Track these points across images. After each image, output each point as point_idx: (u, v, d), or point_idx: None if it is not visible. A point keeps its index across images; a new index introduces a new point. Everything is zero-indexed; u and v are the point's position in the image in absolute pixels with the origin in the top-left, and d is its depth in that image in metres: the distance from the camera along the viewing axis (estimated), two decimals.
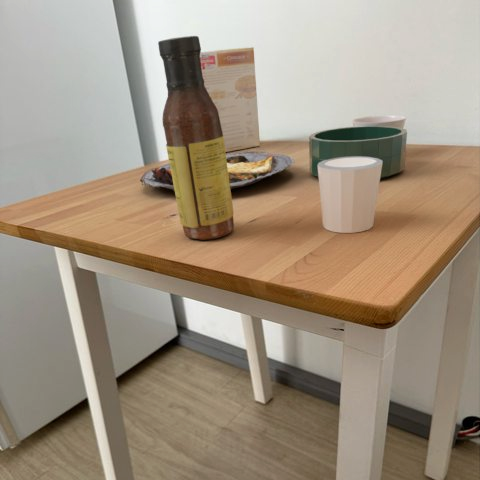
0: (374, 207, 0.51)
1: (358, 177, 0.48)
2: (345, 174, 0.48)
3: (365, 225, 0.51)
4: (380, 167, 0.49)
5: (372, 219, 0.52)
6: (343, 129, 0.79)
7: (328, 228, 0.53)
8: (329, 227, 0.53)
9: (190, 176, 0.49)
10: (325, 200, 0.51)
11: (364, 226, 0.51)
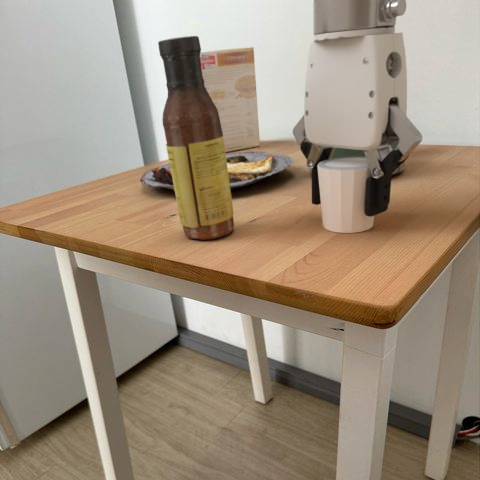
0: None
1: (358, 177, 0.48)
2: (345, 174, 0.48)
3: (365, 225, 0.51)
4: None
5: (372, 219, 0.52)
6: None
7: (328, 228, 0.53)
8: (329, 227, 0.53)
9: (190, 176, 0.49)
10: (325, 200, 0.51)
11: (364, 226, 0.51)
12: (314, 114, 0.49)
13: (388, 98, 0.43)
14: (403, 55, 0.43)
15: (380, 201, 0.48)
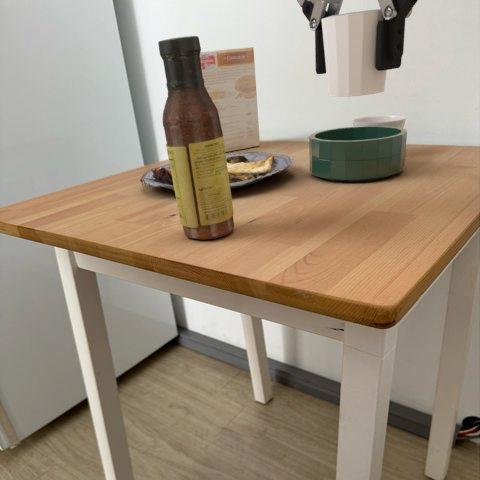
0: None
1: (368, 22, 0.43)
2: (353, 19, 0.43)
3: (376, 86, 0.46)
4: None
5: (383, 81, 0.47)
6: (343, 129, 0.79)
7: (335, 94, 0.47)
8: (335, 93, 0.47)
9: (190, 176, 0.49)
10: (331, 59, 0.46)
11: (374, 88, 0.46)
12: None
13: None
14: None
15: (393, 50, 0.43)
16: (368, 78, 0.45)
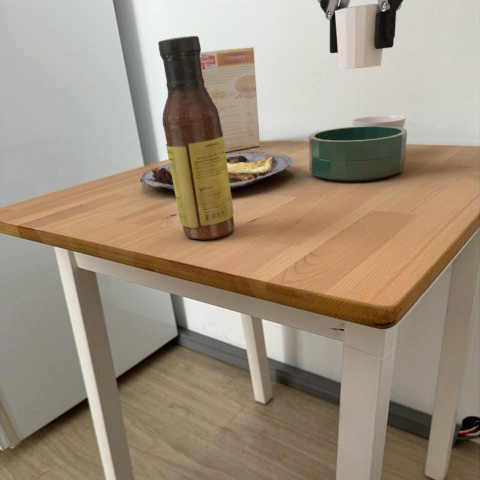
0: None
1: (369, 13, 0.59)
2: (358, 11, 0.59)
3: (374, 61, 0.63)
4: None
5: (380, 57, 0.63)
6: (343, 129, 0.79)
7: (344, 67, 0.64)
8: (344, 66, 0.64)
9: (190, 176, 0.49)
10: (341, 40, 0.62)
11: (374, 62, 0.63)
12: None
13: None
14: None
15: (387, 33, 0.60)
16: (369, 54, 0.62)
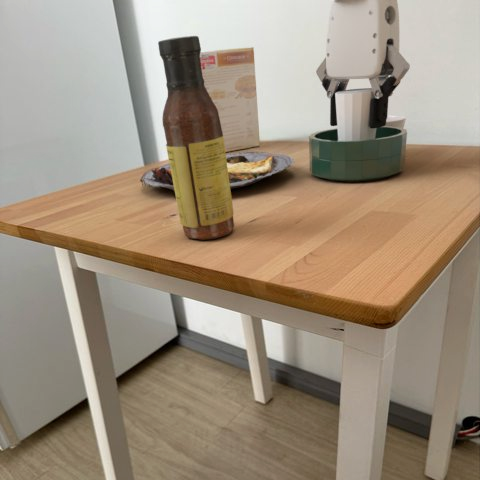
0: None
1: (364, 98, 0.68)
2: (355, 96, 0.68)
3: (369, 137, 0.71)
4: None
5: (374, 133, 0.72)
6: None
7: (342, 140, 0.72)
8: (343, 140, 0.72)
9: (190, 176, 0.49)
10: (340, 119, 0.71)
11: (368, 138, 0.71)
12: (333, 55, 0.69)
13: (386, 39, 0.63)
14: (396, 9, 0.63)
15: (380, 116, 0.68)
16: (364, 132, 0.70)
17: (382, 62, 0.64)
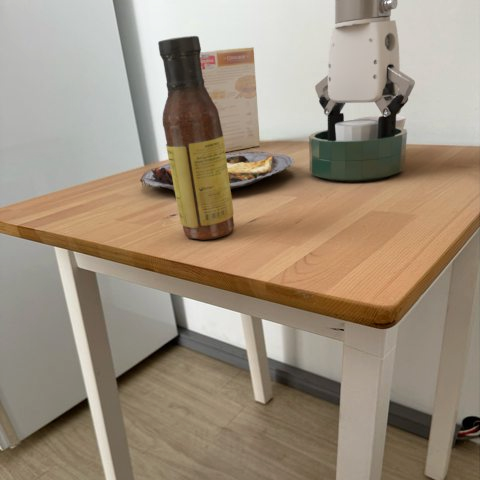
0: None
1: (364, 131, 0.70)
2: (355, 129, 0.70)
3: None
4: None
5: None
6: None
7: None
8: None
9: (190, 176, 0.49)
10: None
11: None
12: (335, 79, 0.70)
13: (386, 65, 0.65)
14: (396, 35, 0.64)
15: (388, 134, 0.68)
16: None
17: (383, 87, 0.66)
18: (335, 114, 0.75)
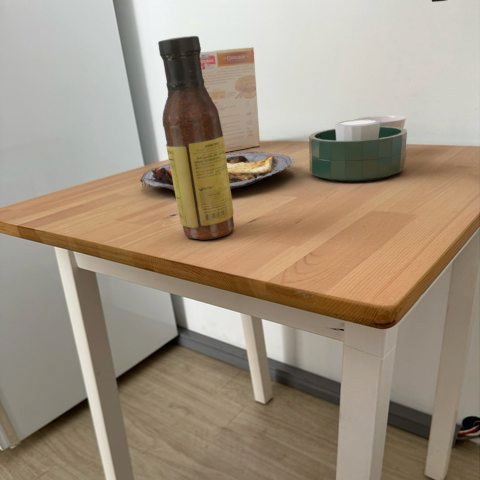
0: None
1: (364, 131, 0.70)
2: (355, 129, 0.70)
3: None
4: (379, 125, 0.71)
5: None
6: None
7: None
8: None
9: (190, 176, 0.49)
10: None
11: None
12: None
13: None
14: None
15: None
16: None
17: None
18: None
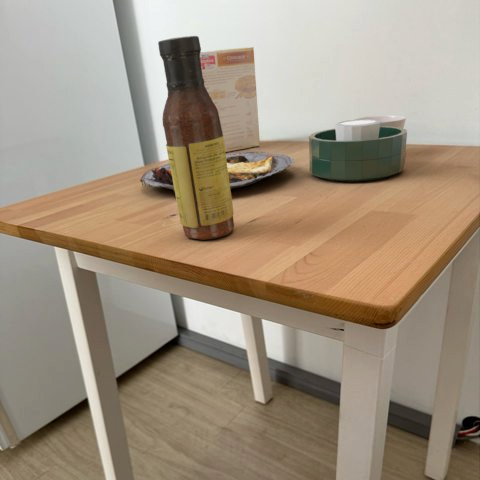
0: None
1: (364, 131, 0.70)
2: (355, 129, 0.70)
3: None
4: (379, 125, 0.71)
5: None
6: None
7: None
8: None
9: (190, 176, 0.49)
10: None
11: None
12: None
13: None
14: None
15: None
16: None
17: None
18: None
